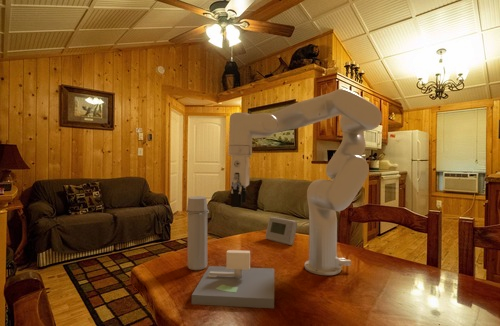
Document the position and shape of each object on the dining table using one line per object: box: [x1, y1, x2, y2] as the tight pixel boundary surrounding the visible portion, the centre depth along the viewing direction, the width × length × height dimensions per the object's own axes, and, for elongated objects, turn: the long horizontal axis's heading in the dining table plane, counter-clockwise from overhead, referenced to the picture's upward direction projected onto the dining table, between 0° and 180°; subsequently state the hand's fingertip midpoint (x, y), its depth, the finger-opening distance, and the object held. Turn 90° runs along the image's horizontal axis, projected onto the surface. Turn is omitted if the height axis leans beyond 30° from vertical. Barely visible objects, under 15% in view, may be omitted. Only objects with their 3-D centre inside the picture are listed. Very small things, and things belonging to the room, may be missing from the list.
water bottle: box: [185, 195, 210, 271], centre depth 99 cm, size 9×8×25 cm
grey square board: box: [191, 265, 275, 309], centre depth 83 cm, size 22×20×3 cm
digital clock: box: [265, 216, 298, 246], centre depth 131 cm, size 16×9×11 cm, turn 35°
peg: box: [209, 249, 251, 279], centre depth 86 cm, size 12×2×8 cm, turn 85°
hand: (238, 204), depth 90 cm, fingers open, 9 cm apart
